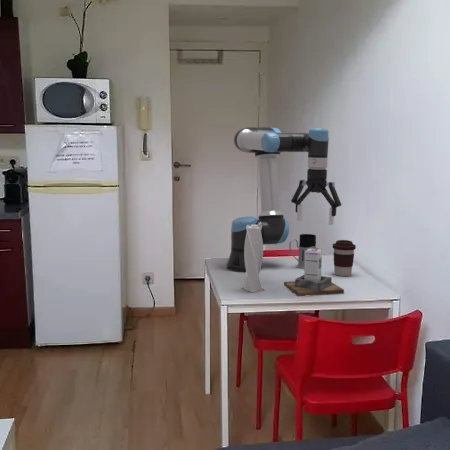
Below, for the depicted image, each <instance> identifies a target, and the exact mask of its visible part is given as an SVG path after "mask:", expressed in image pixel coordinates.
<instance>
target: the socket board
mask: <svg viewBox="0 0 450 450" xmlns="http://www.w3.org/2000/svg"><path fill="white" fill-rule="evenodd" d="M283 287H285V288H287V289H288V290H289V291H291V292H292V293H293V294H295V295H296V296H297V297H303V296H304V297H306V296H305V295H310V296H323V295H324V294H326V295H339V294H345V289H344V288H343V287H340V286H339V285H337V284H336V283H333V282H332V277H330V276H326V275H325V276H323V275H321V281H320V282H316V281H310V280H304V274H302V275H301V276H299V277H297V278H295V279H294V280H291V281H290V280H289V281H284V282H283ZM324 296H325V295H324Z"/></svg>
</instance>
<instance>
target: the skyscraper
mask: <svg viewBox="0 0 450 450" xmlns="http://www.w3.org/2000/svg"><path fill="white" fill-rule="evenodd" d="M260 223H261V222H260ZM260 223H259V227H258V225H251V226H249V225H247V226H248V227H247V226H246V230H247V233H246V239H245V246H244V260H245V268H246V272H245V273H246V277H245V281H244V286H243V287H242V288H241V289H242V290H244V291H247V292H249V293H259V292H263V291H266V289H264V288H263V287H262V283H261V279H260V278H261V277H260V271H261V269H262V265H263V258H264V257H263V256H264V245H263V241H262V235H261V229H262V223H261V227H260Z"/></svg>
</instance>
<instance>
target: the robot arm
mask: <svg viewBox="0 0 450 450" xmlns="http://www.w3.org/2000/svg"><path fill="white" fill-rule="evenodd" d="M329 140H330V138H329V130H328V128H326V127H325V128H324V127H322V128H320V127H319V128H318V127H311V128H310V129H309V130H308V132H282V131H281V130H280V129H279V128H277V127H269V126H268V127H262V126H261V127H260V126H259V127H256V126H255V127H254V126H253V127H250V126H247V127H243V128H240V129H239V130H237V131H236V132H235V134H234V137H233V144H234V146H235V148H236V149H237V150H239V151H240V152H243V153H247V154H248V153H249V154H251V153H252V154H253V153H254V158H255V159H256V160H257V161H258V173H259V175H258V177H259V190H260V193H259V194H260V208H261V209H260V211H261V212H260V213H259V214H258V217H257V216H254V215H253V216H241V217H237V218H235V219H233V220H232V221H231V228H230V231H231V236H230V240H231V241H230V255H229V257H228V259H227V263H226V269H227V270H230V271H233V272H240V273H241V272H245V273H246V268H245V260H244V246H245V239H246V233H247V230H246V226H247V225H249V226H251V225H258V227H259V223H260V222H261V223H262V229H261V235H262V241H263V246H264V245H266V246H267V245H277V244H278V245H279V244H283V243H285V241H286V240H287V238H288V237H289V234H290V224H289V220H288V219H287V218H284V214H283V212H281V208H280V204H281V203H280V193H279V192H280V189H279V174H278V171H279V169H278V159H279V158H280V156H281V154H282V153H284V152H285V153H286V152H287V153H307V167H308V169H307V173H306V174H307V175H306V176H307V179H306V180H305V179H300V180H299V181H298V187H297V188H296V190H295V192H294V194H293V196H292V198H291V200H290V202H291V203H293V204H295V209H294V210H295V213H296V221H297V222H301V221H303V216H302V215H303V204H301V203H302V202H303V201H304V200H305V199H306V198H307V196H308V195H310V193H316V194H319V193H321V195H322V196H323V197H324V198H325V199H326V201H327V203H328V204H329V206H330V207H329V212H328V213H329V214H328V215H329V217H328V226H332V225H334V223H335V221H334V219H335V217H336V216H337V208H338V207H341V206H342V203H341V199H340V197H339V194H338V193H337V190H336V188H335V182H334V181H329V182H327V178H328V177H327V176H328V170H327V168H328V154H329ZM305 186H306V188H305V190H304V187H305ZM326 187H328V190H329V192H330V193H329V192H328V190H327V189H326ZM303 190H304V191H303ZM302 191H303V193H302ZM301 193H302V194H301ZM331 196H332V197H331ZM261 223H260V227H261ZM247 227H248V226H247Z"/></svg>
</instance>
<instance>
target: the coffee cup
mask: <svg viewBox="0 0 450 450" xmlns="http://www.w3.org/2000/svg"><path fill="white" fill-rule="evenodd" d="M332 248H333V265H334V266H333V268H334V271H333V272H334V275H335V276H339V277H349V276H351V275H352V273H353V272H352V271H353V265H354V259H355V250H356V248H357V247H356V244H354V243H353V241H352V240H348V239H340V240H339V239H338V240H336V242H335V243H333V244H332Z"/></svg>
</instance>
